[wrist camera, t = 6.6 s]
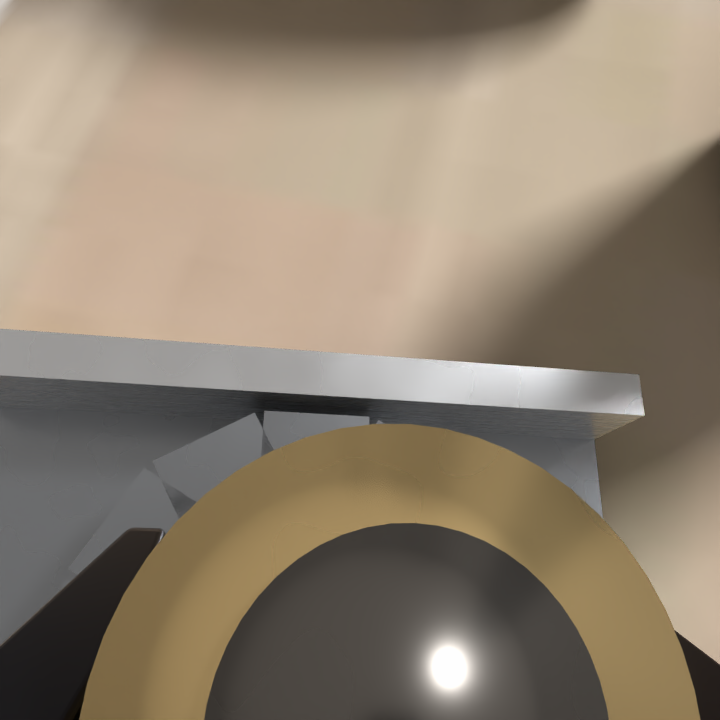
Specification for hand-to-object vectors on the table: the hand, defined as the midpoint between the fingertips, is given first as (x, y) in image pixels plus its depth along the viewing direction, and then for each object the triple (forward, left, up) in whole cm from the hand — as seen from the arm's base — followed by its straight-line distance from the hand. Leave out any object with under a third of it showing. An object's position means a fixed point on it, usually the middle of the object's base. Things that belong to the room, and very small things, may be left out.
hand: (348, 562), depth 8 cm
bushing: (-1, 0, -7) cm, 7 cm away
